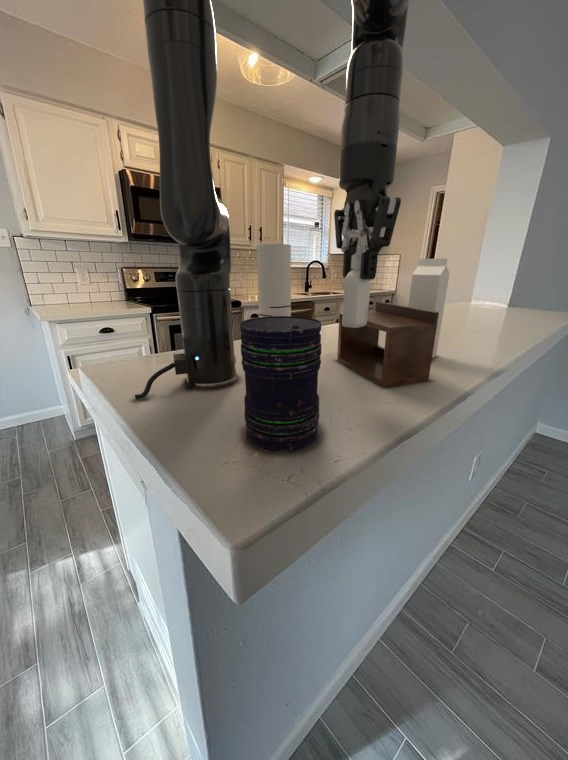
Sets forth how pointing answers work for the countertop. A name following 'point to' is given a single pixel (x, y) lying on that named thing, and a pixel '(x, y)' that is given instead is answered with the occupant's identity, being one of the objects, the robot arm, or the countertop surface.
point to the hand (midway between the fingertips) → (358, 277)
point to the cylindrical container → (274, 279)
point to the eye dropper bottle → (355, 295)
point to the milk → (430, 289)
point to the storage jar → (281, 381)
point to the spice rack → (390, 345)
